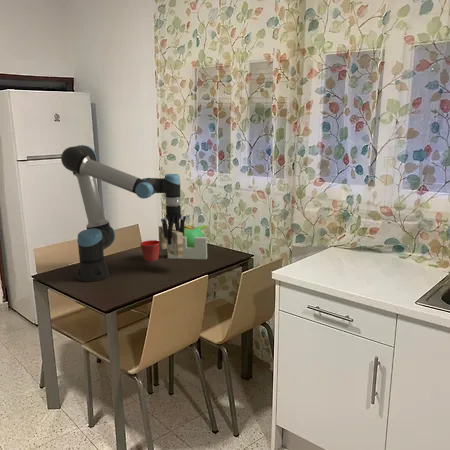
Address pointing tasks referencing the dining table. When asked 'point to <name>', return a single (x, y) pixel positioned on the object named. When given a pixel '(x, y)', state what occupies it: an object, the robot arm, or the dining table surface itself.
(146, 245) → the flower pot
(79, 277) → the robot arm
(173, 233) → the birch slotted plate
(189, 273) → the dining table surface
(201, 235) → the green rounded piece
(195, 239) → the sage slotted rail
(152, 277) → the dining table surface
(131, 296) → the dining table surface
